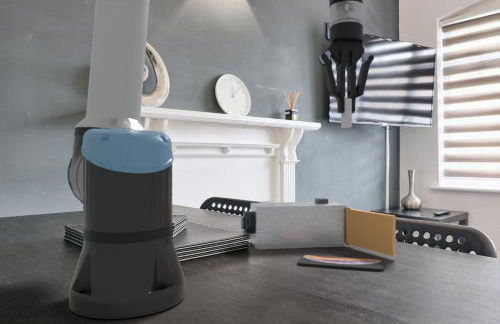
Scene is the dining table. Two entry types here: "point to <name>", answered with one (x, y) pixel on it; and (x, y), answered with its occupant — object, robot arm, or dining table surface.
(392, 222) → the side door
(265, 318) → the dining table surface
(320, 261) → the smartphone
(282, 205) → the silver box with door
